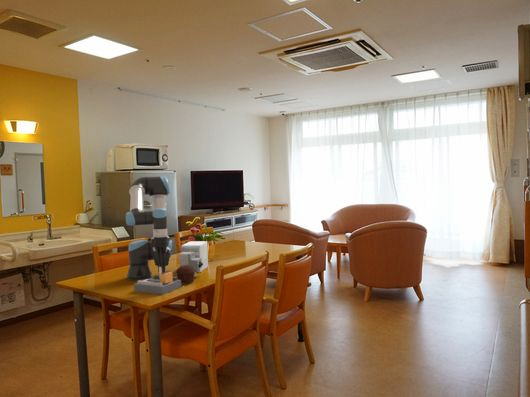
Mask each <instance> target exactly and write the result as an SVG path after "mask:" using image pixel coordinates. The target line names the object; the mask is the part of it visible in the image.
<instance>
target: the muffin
mask: <svg viewBox="0 0 530 397" xmlns="http://www.w3.org/2000/svg"><path fill="white" fill-rule="evenodd" d="M195 271H196V270H195V269H194V268H193V267H192V266H190V265H183V266H181V267H180V266H179V267H178V268H177V269H176V270H175V274H176V277H177V280H181V285H189V284H193V283H194V280H195V276H194V273H195Z"/></svg>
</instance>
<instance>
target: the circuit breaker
mask: <svg viewBox="0 0 530 397" xmlns="http://www.w3.org/2000/svg"><path fill="white" fill-rule="evenodd" d="M177 259H178V260H177V261H179V267H181V266H183V265H190V266H192V267H193V268H194V269H195V270H196V271H195V273H194V277H196V275H197V274H196V273H200V272H199V271H200V270H202V265H203V263H202V258H195V252H180V253H178V257H177Z"/></svg>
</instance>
